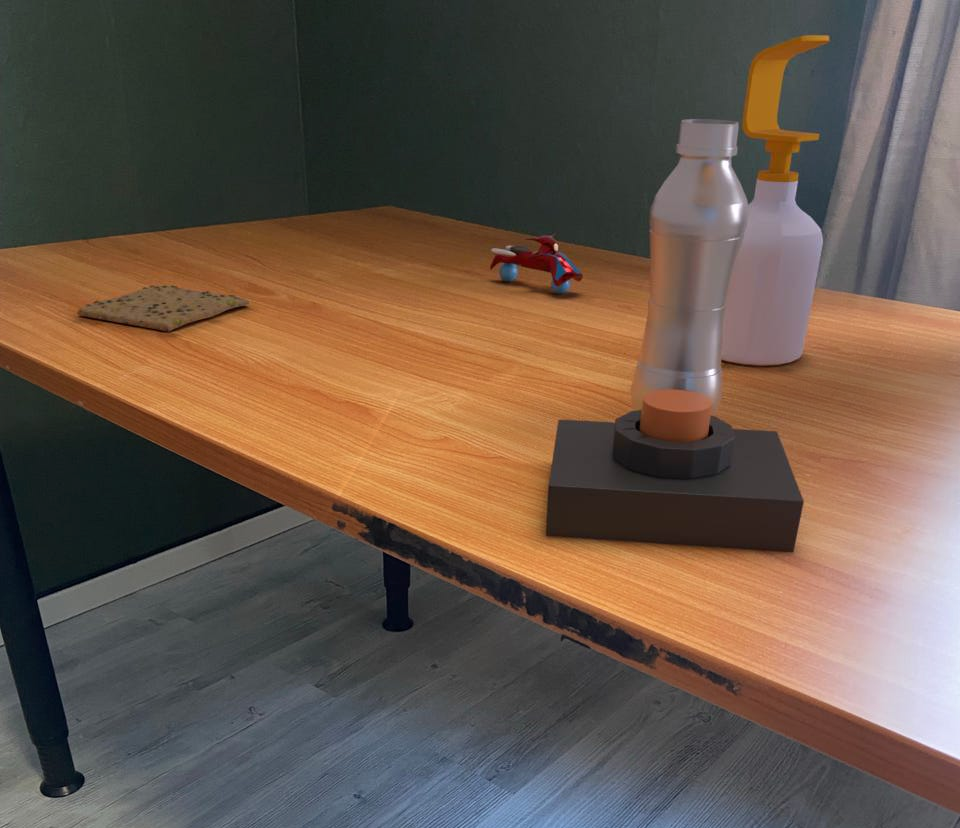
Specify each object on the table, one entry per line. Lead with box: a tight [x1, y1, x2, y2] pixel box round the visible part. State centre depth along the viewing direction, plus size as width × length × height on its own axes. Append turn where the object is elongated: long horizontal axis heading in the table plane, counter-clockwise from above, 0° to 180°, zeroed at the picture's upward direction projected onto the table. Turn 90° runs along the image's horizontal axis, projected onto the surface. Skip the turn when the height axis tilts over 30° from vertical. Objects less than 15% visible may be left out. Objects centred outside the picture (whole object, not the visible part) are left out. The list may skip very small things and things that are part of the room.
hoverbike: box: [489, 233, 583, 295], centre depth 109 cm, size 5×12×6 cm, turn 45°
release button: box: [639, 389, 712, 442], centre depth 58 cm, size 4×4×2 cm
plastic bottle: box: [630, 118, 749, 417], centre depth 68 cm, size 6×7×20 cm
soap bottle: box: [721, 34, 830, 367], centre depth 83 cm, size 9×9×25 cm
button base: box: [545, 410, 805, 553], centre depth 60 cm, size 14×11×5 cm
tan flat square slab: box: [77, 285, 250, 332], centre depth 99 cm, size 12×12×1 cm
